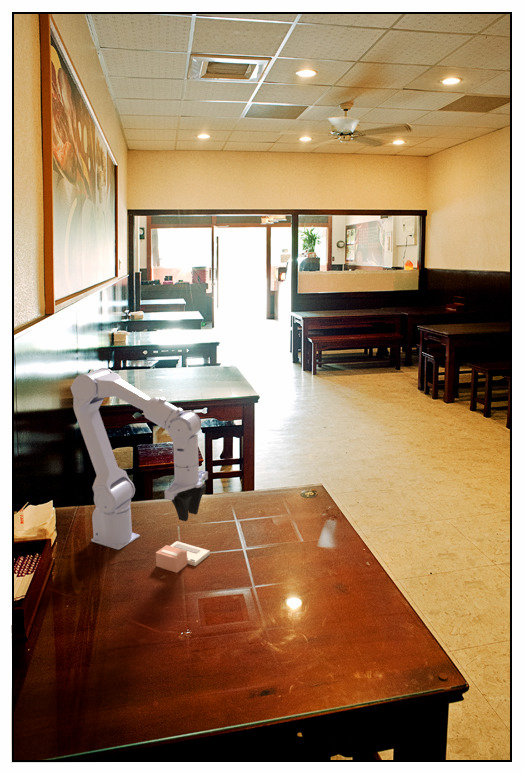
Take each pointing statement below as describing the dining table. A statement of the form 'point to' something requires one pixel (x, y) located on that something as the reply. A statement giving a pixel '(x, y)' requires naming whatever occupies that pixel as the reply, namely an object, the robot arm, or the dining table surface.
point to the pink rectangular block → (171, 558)
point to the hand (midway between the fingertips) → (188, 516)
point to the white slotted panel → (192, 552)
